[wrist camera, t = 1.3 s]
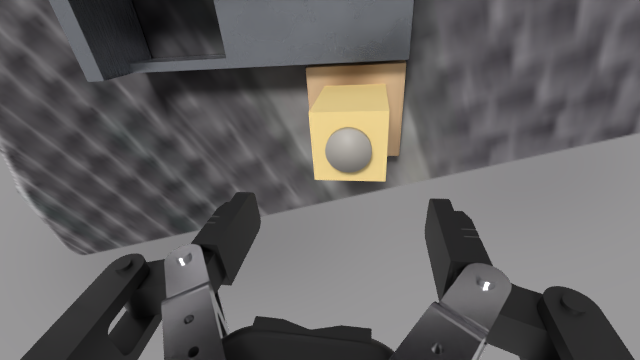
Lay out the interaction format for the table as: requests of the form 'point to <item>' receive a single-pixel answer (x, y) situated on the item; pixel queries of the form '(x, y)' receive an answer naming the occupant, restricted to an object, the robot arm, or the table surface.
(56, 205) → the table surface
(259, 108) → the table surface
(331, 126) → the yellow block with dome
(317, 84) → the pad
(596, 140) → the table surface
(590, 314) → the robot arm
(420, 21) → the table surface
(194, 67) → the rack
